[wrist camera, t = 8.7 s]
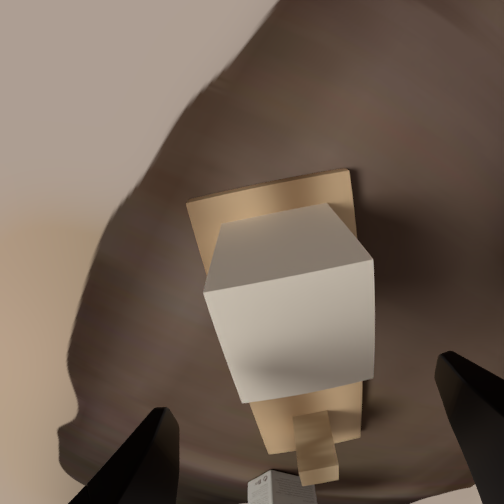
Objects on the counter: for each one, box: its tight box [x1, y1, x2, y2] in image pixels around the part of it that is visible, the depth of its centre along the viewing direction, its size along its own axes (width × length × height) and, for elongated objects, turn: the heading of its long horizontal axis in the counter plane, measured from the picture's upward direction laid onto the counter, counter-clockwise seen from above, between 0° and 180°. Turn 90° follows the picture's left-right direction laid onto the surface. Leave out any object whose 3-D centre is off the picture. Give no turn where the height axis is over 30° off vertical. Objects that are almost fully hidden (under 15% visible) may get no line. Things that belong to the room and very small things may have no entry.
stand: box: [186, 168, 362, 486], centre depth 17 cm, size 8×22×6 cm, turn 12°
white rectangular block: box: [203, 203, 375, 403], centre depth 13 cm, size 5×5×7 cm
